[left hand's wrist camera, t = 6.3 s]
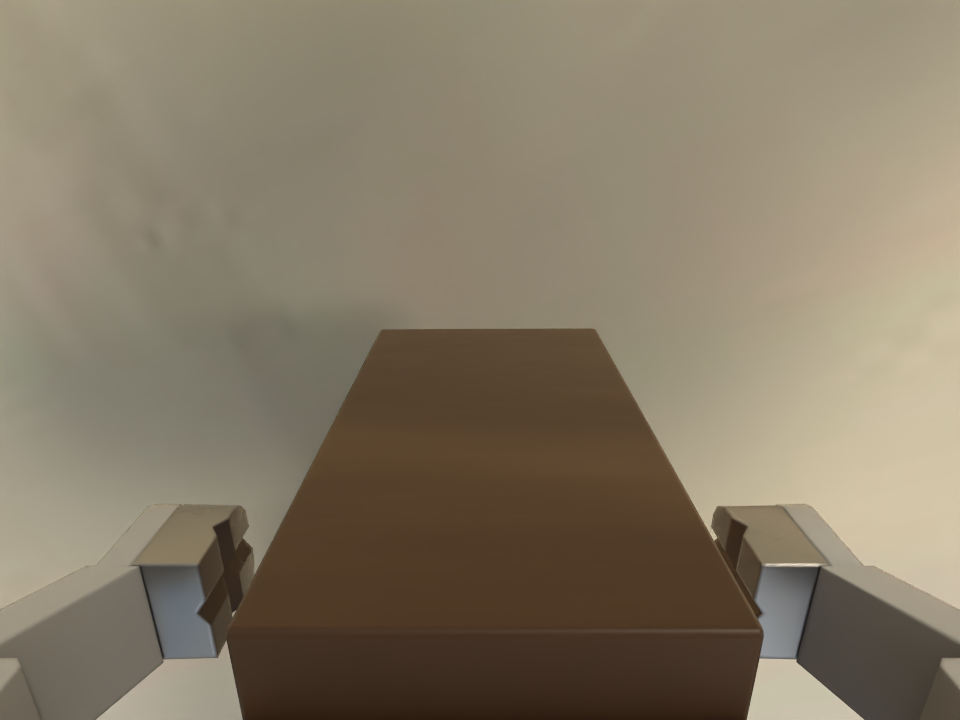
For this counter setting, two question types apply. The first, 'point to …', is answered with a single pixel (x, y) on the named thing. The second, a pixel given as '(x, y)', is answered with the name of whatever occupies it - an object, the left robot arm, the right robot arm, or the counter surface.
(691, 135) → the counter surface
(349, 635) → the bar
